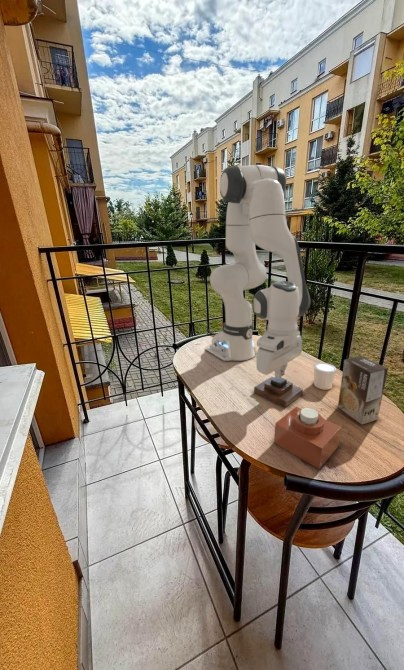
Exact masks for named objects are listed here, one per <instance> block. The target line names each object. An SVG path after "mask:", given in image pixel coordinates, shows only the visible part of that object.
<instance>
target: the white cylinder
mask: <svg viewBox="0 0 404 670" xmlns="http://www.w3.org/2000/svg"><path fill="white" fill-rule="evenodd" d="M313 371H314V372H313V382H314V383H313V385H314V387H316V389H320V390H325V391H326V390H330V389H332V388H333V384H334V381H335V376H336V373H337V368H336V366H335V365H333V364H330V363H328V362H318V363H315V364H314V367H313Z"/></svg>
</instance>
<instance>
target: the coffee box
mask: <svg viewBox="0 0 404 670" xmlns="http://www.w3.org/2000/svg"><path fill="white" fill-rule="evenodd" d="M388 371H389V368H388V367H386V366H384V365H382V364H379V363H377V362H375V361H373V360H371V359H369V358H367V357H364V356H362V355H357V356H353V357H352V356H351V357H349V358H346V359H344V360H343V368H342V375H341V382H340V388H339V389H340V390H339V395H338V403H337V408H338V409H339V410H341V411H342V412H343V413H345V414H346V415H348V416H349V417H351V418H352V419H353V420H355V421H356V422H357V423H359V424H360V425H365V424H368V423H371V422H374V421H378V420H379V415H380V409H381V404H382V401H383V400H382V399H383V396H384V390H385V385H386V382H387V381H386V380H387V377H388V376H387V375H388Z"/></svg>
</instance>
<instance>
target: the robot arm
mask: <svg viewBox="0 0 404 670" xmlns="http://www.w3.org/2000/svg"><path fill="white" fill-rule="evenodd" d="M286 187H287V176H286V173H285V171H284V169H282V168H280V167H279V166H274V165H271V166H270V165H269V166H268V165H261V164H253V165H239V166H238V165H232V166H228V167H226V168H225V169H224V170H223V171H222V173H221V175H220V179H219V193H220V196H221V198H222V199H223V200H224V201H225V202H227V207H226V215H225V247H226V249H227V250H228V251H229V252H231V253H232V255H233V256H234V262H235V263H229V264H223V265H220V266H217V267H215V268H214V269H212V271H211V273H210V275H209V284H210V286H211V289H212V290H213V291H214V292H215V293H216V294H217V295H219V296H220V298H221V299H222V302H223V305H224V316H225V322H223V323H221V324H220V327H221V328H222V329H221V330H220V331H219V332H217V333H213V332H211V330H210V329H206V332H208V334H209V335H211V336H212V338H211V344H208V346H206V347H205V348H206V351H208V352H209V353H211V354H212V355H214V356H215V357H217V358H219V359H221V360H222V361H223V362H230V361H234V362H235V361H236V362H237V361H238V362H239V361H248V360H251V359H253V358H255V356H256V361H255V362H256V364H255V365H256V366H255V367H256V370H257V372H258V373H261V374H263V375H266V376H268V375H270V374H271V373H273V372H274V377H277V378H280V377H281V378H283V376H285V375H286V374H285V373H286V370H287V367H288V363H289V362H292V361H293V360H295V359H297V358H298V357H300V356H301V355H302V352H303V339H302V336H301V331H300V330H299V326H298V325H299V324H298V318H301V317H302V316H304V315H305V314H306V313H307V311H308V310H309V308H310V306H311V302H312V301H311V295H310V292H309V289H308V286H307V283H306V277H305V272H304V265H303V261H302V255H301V249H300V246H299V241H298V238H297V237H296V236H295V235H293V234H292V232H291V231H290V229H289V227H288V223H287V217H286V216H287V215H286V203H285V197H284V193H285V191H286ZM256 246H257V247H258V248H260V249H261V250H264V251H268V252H270V253H272V254H275V255H276V256H279V258H281V260H282V261H283V262H284V266H285V272H286V277H287V280H277V281H274V282H272V283H271V285H270V286H269V287H267V288H263V289H259V290H258V291H257V292H256V293H255V294H254V295H253V297H252V303H251V302H250V301H248V300H247V299H245V296H244V291H247V290H252V289H255V288H257V287H259V286H261V285H263V284H264V283H265V281H266V279H267V276H268V275H267V273H268V272H267V269H266V267H265V265H264V264H263V263H262V262H261V261H260V259H259V255H258V254H257V249H256V248H257V247H256ZM253 314H255V315H256V316H257V318H259V319H262V320H267V321H268V324H267V326H266V327H267V328H266V330H265V331H264V333H263V334H262V335H261V336H260V337H259V338H258V339H257V340H256V347H258V348H257V351H256V352H255V348H254V347H255V344H254V341H253V333H254V323H253Z"/></svg>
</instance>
